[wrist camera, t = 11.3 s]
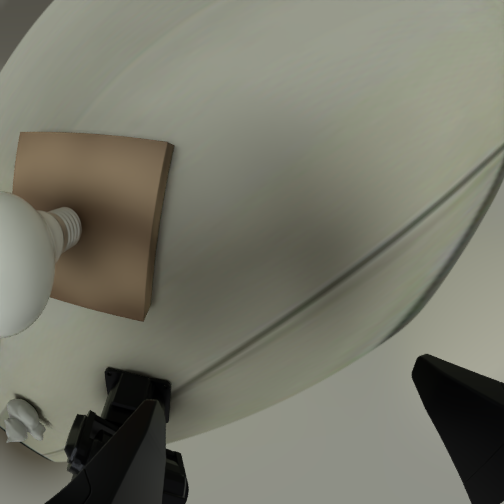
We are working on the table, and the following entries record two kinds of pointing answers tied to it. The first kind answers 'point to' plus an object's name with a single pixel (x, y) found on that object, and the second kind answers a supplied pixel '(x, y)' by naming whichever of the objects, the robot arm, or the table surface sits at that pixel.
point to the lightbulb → (30, 258)
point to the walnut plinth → (99, 212)
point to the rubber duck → (22, 421)
